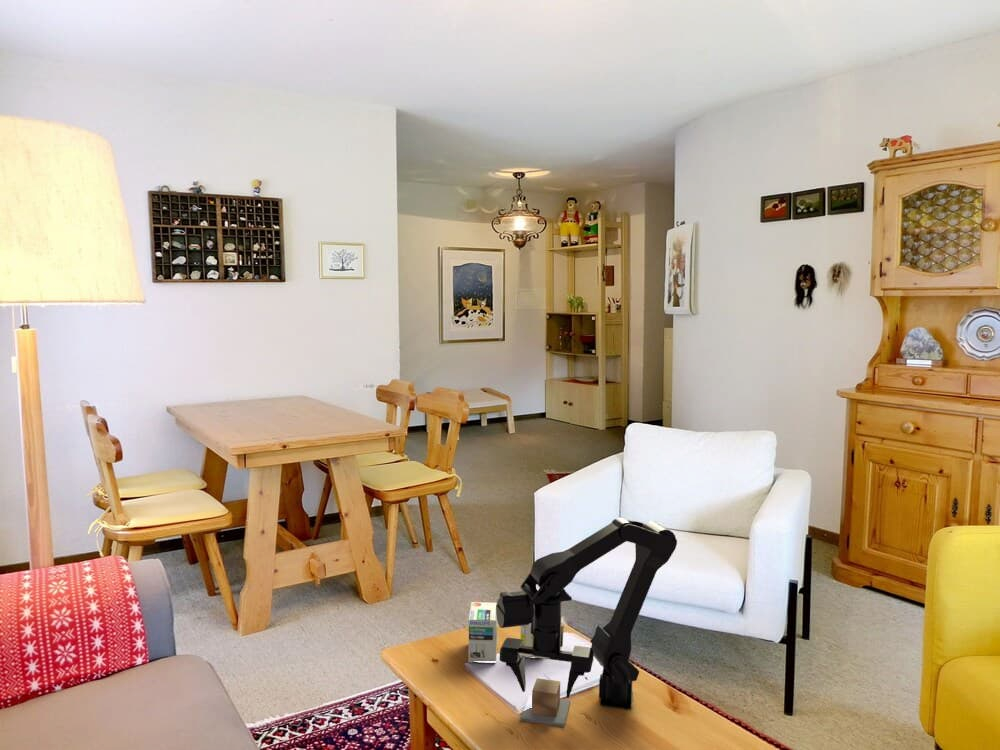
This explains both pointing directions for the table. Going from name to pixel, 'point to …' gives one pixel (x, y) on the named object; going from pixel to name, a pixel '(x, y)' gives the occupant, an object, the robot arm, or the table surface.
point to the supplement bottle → (527, 635)
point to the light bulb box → (482, 632)
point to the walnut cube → (546, 697)
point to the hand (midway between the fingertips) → (545, 693)
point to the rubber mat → (549, 720)
